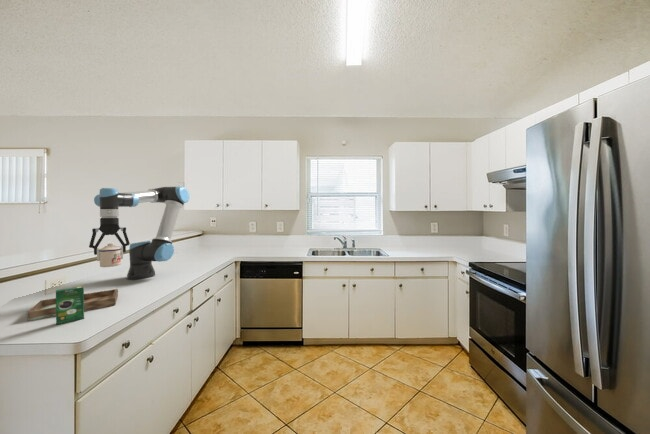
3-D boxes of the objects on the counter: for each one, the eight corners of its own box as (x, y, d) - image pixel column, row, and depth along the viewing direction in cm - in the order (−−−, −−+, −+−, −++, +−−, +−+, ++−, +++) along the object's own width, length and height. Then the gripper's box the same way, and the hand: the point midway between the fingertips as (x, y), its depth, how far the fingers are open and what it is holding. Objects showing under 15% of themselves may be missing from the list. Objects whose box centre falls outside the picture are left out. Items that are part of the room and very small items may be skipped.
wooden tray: (117, 295, 131) (117, 288, 131) (115, 305, 117) (114, 297, 117) (41, 308, 115) (40, 300, 115) (27, 321, 101) (27, 312, 101)
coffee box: (84, 316, 105) (83, 285, 105) (85, 318, 103) (83, 286, 103) (56, 323, 99) (54, 289, 99) (56, 325, 97) (54, 291, 97)
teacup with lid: (115, 267, 131) (114, 244, 130) (94, 268, 129) (93, 245, 129) (128, 262, 142) (127, 241, 142) (110, 263, 141) (109, 242, 140)
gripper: (79, 217, 125) (81, 263, 126) (135, 217, 138) (136, 258, 138) (82, 217, 131) (83, 261, 132) (135, 217, 144) (136, 256, 144)
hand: (110, 259), depth 135 cm, fingers closed on teacup with lid, 9 cm apart
